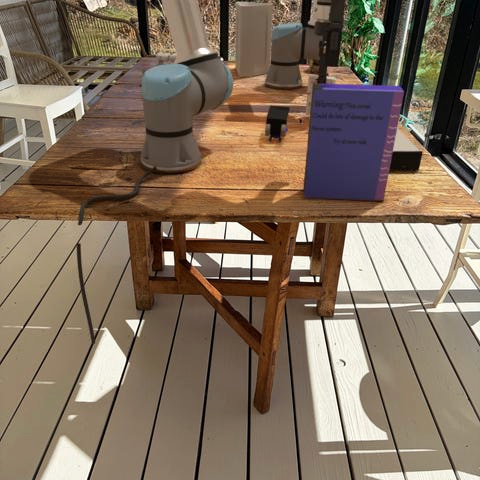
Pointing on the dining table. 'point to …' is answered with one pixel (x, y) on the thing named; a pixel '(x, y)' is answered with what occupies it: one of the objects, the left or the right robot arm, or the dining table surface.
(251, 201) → the dining table surface
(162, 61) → the toy
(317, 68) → the anatomical model
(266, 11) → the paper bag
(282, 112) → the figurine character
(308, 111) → the box
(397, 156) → the disc drive
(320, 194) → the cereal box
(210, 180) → the dining table surface
